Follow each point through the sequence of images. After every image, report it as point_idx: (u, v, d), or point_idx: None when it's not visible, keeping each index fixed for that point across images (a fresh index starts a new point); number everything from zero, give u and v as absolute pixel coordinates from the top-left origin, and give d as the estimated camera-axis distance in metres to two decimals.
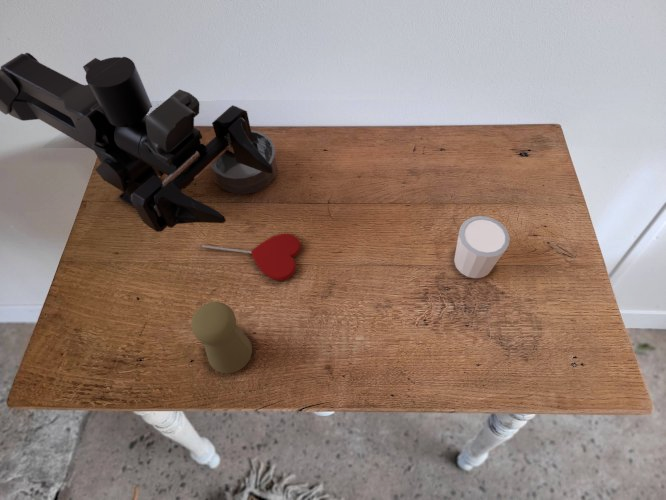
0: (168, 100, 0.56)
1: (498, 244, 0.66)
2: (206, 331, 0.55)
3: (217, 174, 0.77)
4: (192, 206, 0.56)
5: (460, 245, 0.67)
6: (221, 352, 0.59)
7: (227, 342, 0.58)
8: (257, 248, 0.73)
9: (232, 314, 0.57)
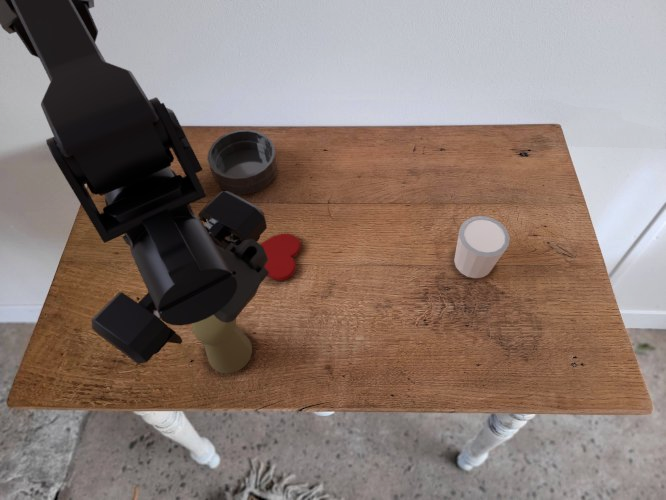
0: (256, 289, 0.43)
1: (498, 244, 0.66)
2: (206, 331, 0.55)
3: (217, 174, 0.77)
4: (168, 340, 0.48)
5: (460, 245, 0.67)
6: (221, 352, 0.59)
7: (227, 342, 0.58)
8: None
9: None
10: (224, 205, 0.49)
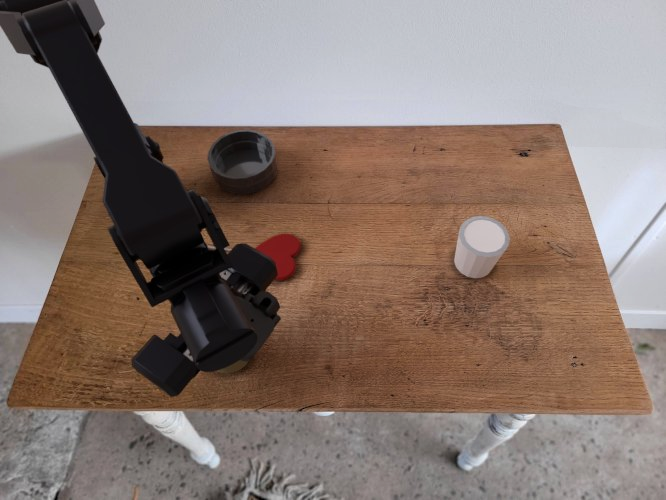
0: (270, 334, 0.51)
1: (498, 244, 0.66)
2: None
3: (217, 174, 0.77)
4: None
5: (460, 245, 0.67)
6: None
7: None
8: (257, 248, 0.73)
9: None
10: (241, 256, 0.57)
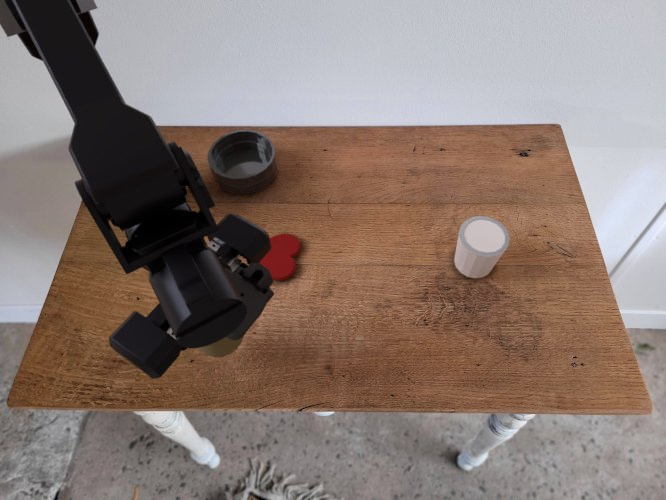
0: (262, 310, 0.46)
1: (498, 244, 0.66)
2: None
3: (217, 174, 0.77)
4: None
5: (460, 245, 0.67)
6: None
7: None
8: None
9: None
10: (231, 227, 0.53)
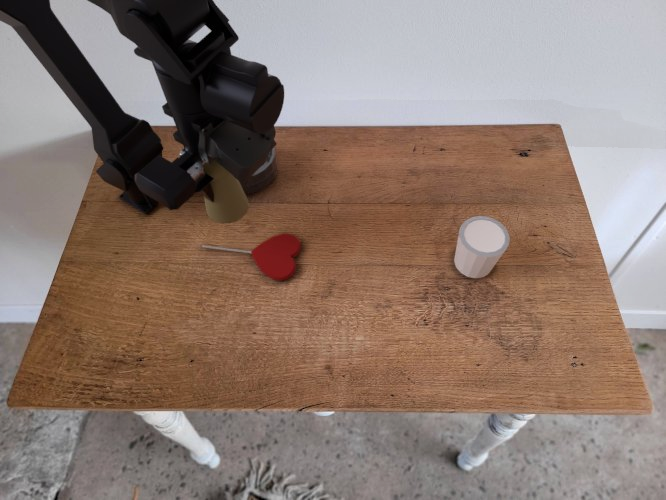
0: (266, 152, 0.54)
1: (498, 244, 0.66)
2: (206, 163, 0.59)
3: None
4: (205, 191, 0.61)
5: (460, 245, 0.67)
6: (220, 194, 0.63)
7: (225, 182, 0.62)
8: (257, 248, 0.73)
9: None
10: None
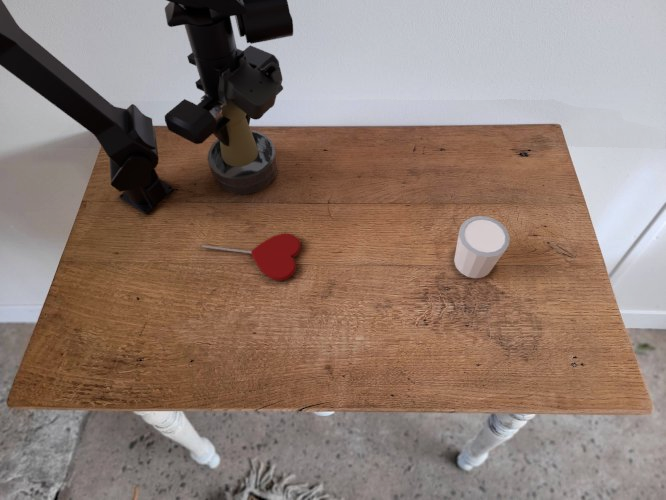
0: (275, 94, 0.65)
1: (498, 244, 0.66)
2: (223, 108, 0.69)
3: (217, 174, 0.77)
4: (222, 134, 0.71)
5: (460, 245, 0.67)
6: (234, 137, 0.73)
7: (239, 126, 0.72)
8: (257, 248, 0.73)
9: None
10: (251, 53, 0.71)
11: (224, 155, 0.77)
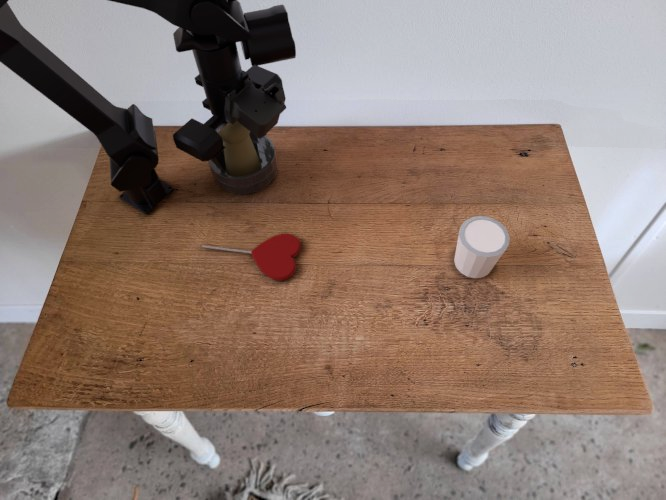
0: (278, 113, 0.67)
1: (498, 244, 0.66)
2: (228, 127, 0.72)
3: (217, 174, 0.77)
4: (218, 160, 0.73)
5: (460, 245, 0.67)
6: (238, 154, 0.76)
7: (243, 144, 0.75)
8: (257, 248, 0.73)
9: None
10: (255, 72, 0.74)
11: (229, 171, 0.80)
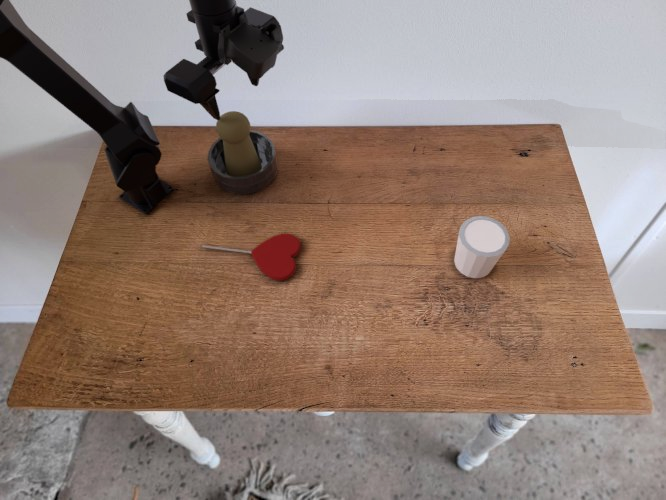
0: (275, 52, 0.63)
1: (498, 244, 0.66)
2: (228, 127, 0.72)
3: (217, 174, 0.77)
4: (212, 106, 0.69)
5: (460, 245, 0.67)
6: (238, 154, 0.76)
7: (243, 144, 0.75)
8: (257, 248, 0.73)
9: (247, 119, 0.74)
10: (251, 14, 0.70)
11: (229, 171, 0.80)
